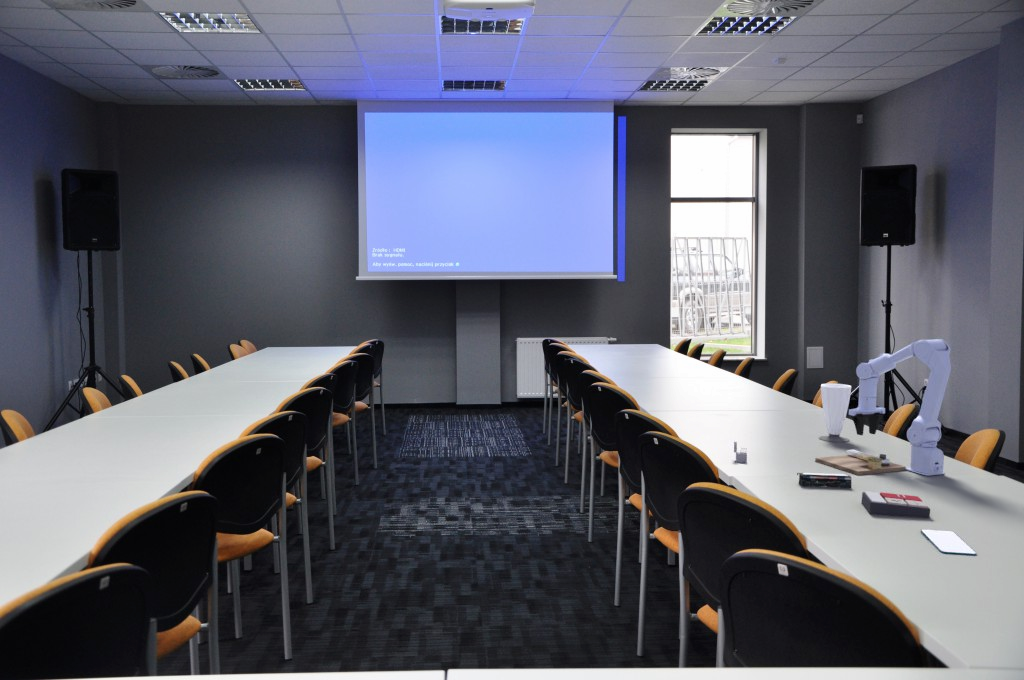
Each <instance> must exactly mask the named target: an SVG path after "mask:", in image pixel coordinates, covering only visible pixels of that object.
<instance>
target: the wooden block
mask: <svg viewBox="0 0 1024 680" xmlns="http://www.w3.org/2000/svg"><path fill="white" fill-rule="evenodd" d="M867 454H868V453H867ZM867 454H860V455H857V458H860V459H863V460H867V461H868V468H869V469H881V458H878V457H879V456H878V457H874V456H875V455H874V456H871V455H872V454H871V455H867Z"/></svg>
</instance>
